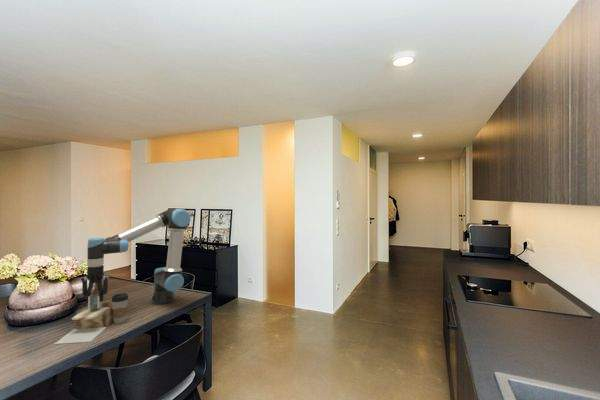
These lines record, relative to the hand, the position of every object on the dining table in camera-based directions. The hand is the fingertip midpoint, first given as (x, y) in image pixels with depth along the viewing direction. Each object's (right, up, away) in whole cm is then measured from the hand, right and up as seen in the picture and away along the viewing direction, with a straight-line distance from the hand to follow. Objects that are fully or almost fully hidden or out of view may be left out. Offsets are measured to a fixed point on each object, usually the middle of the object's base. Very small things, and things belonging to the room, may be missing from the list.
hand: (94, 307), depth 160 cm
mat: (+2, -10, -12) cm, 16 cm away
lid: (0, -3, -3) cm, 4 cm away
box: (-1, -10, +4) cm, 11 cm away
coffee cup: (+11, -10, +5) cm, 16 cm away
